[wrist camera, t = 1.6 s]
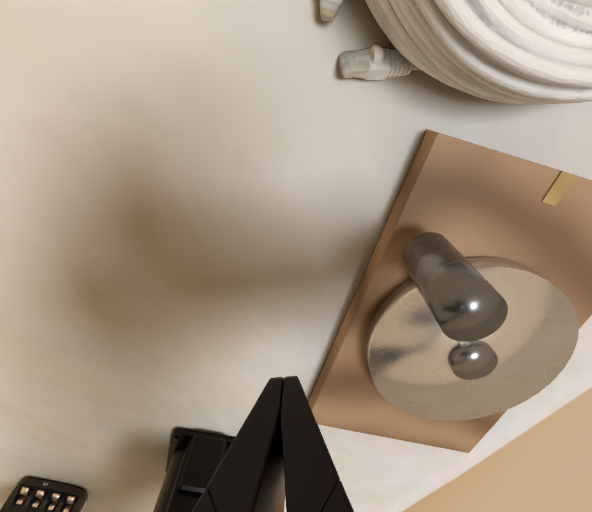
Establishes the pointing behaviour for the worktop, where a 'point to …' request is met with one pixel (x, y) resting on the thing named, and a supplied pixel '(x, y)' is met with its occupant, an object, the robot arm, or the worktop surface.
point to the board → (471, 244)
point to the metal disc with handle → (467, 334)
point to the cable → (482, 47)
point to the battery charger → (44, 497)
